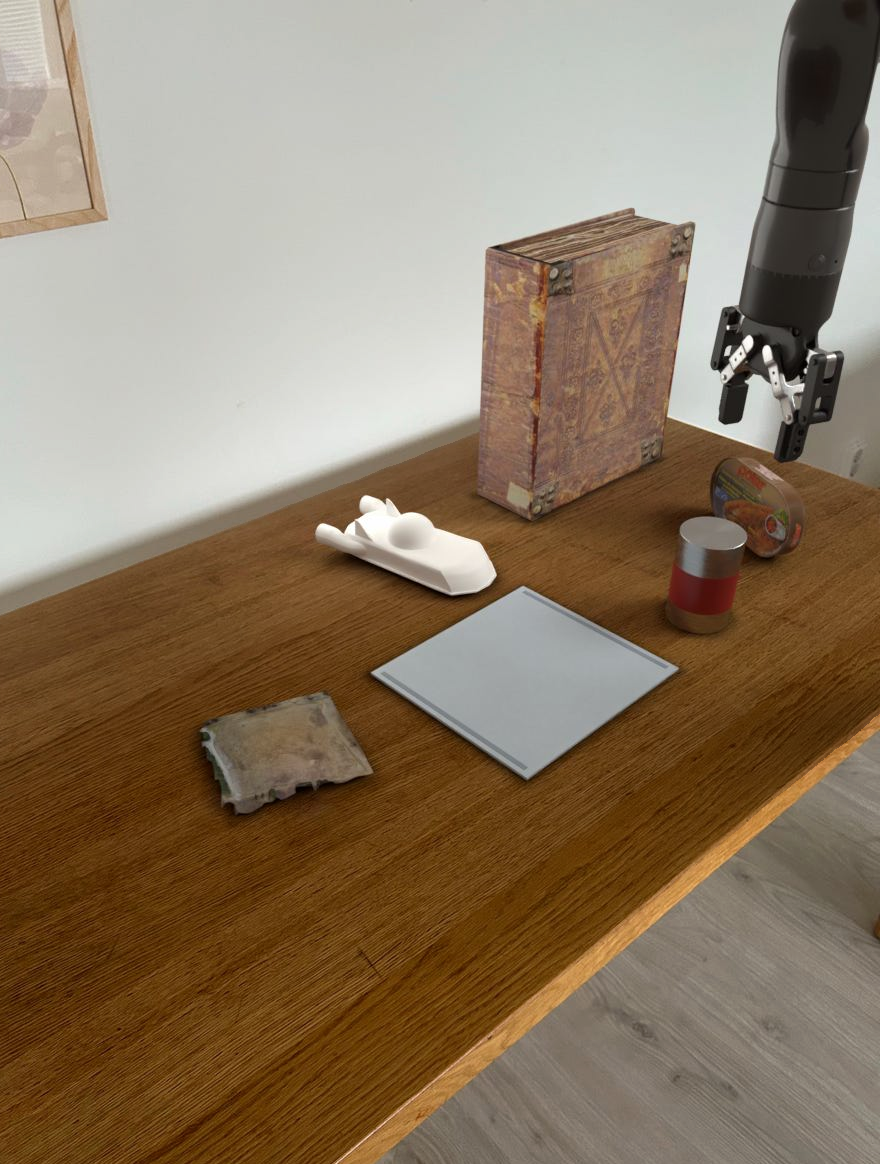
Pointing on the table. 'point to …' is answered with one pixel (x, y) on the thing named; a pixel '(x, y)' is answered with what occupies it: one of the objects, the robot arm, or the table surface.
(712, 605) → the can
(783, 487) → the tin
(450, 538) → the white toy spaceship
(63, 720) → the table surface
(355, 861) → the table surface
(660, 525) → the table surface
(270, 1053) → the table surface
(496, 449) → the book
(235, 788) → the parchment
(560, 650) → the square board
